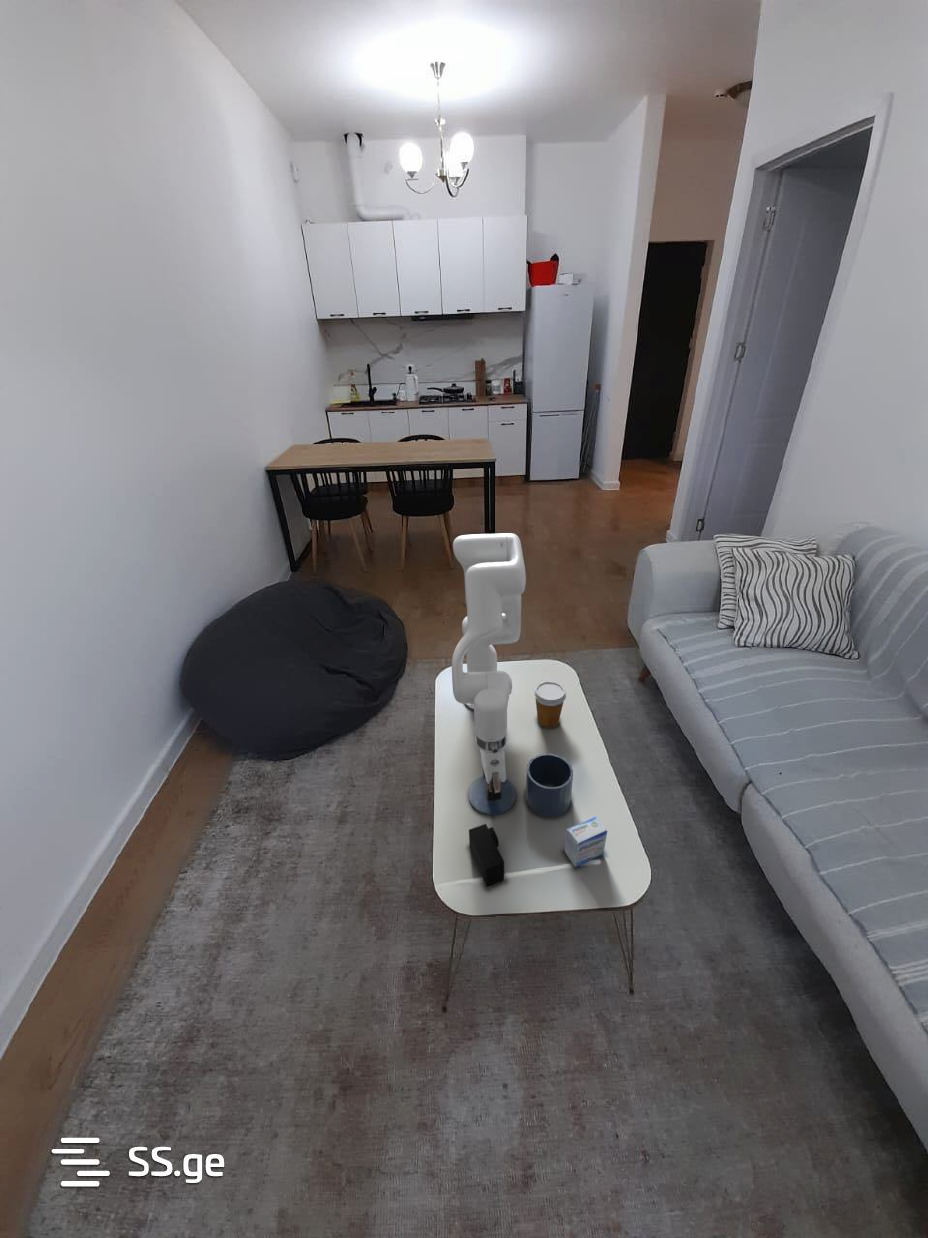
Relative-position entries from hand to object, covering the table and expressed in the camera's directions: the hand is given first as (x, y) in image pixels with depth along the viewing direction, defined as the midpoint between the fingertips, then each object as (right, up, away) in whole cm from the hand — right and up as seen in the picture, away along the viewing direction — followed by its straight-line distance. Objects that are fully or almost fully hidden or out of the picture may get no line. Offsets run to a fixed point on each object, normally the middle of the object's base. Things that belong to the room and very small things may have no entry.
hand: (492, 787), depth 127 cm
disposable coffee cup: (+19, +12, +25) cm, 34 cm away
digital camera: (-1, -13, -14) cm, 19 cm away
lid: (0, -3, +2) cm, 3 cm away
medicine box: (+21, -11, -13) cm, 26 cm away
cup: (+14, -3, +1) cm, 15 cm away
